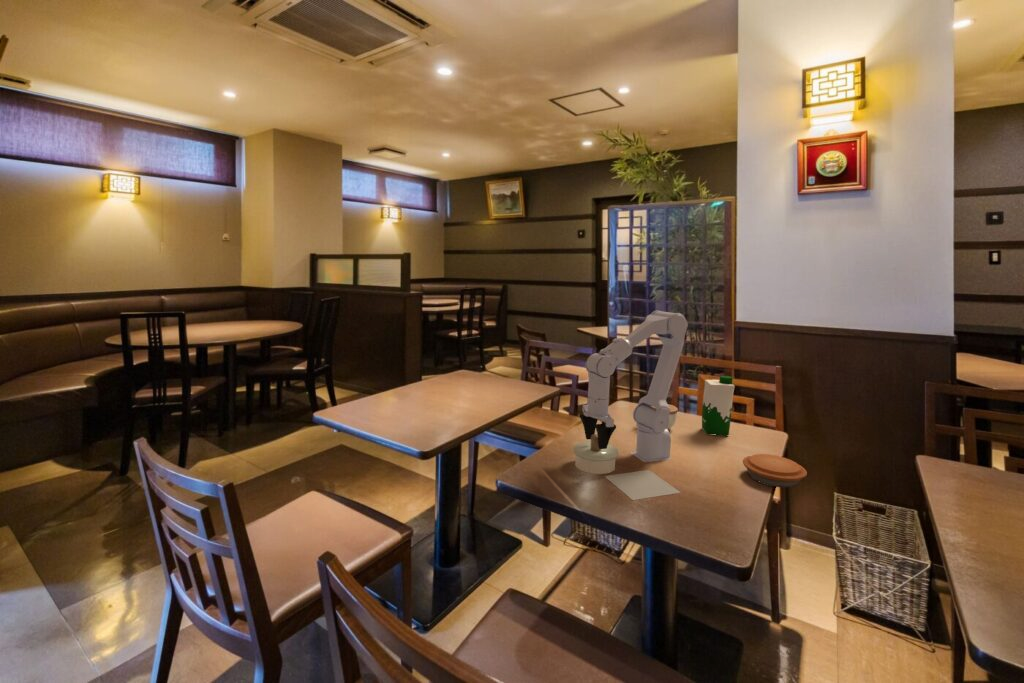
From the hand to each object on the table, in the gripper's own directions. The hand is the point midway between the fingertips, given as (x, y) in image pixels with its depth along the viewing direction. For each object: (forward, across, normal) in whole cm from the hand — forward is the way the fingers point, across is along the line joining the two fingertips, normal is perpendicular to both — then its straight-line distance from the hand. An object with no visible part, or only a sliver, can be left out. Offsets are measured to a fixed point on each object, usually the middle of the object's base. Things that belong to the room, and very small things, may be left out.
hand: (596, 443), depth 136 cm
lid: (+3, 0, 0) cm, 3 cm away
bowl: (+7, 0, 0) cm, 7 cm away
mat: (+7, +14, +6) cm, 17 cm away
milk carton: (+7, -15, +55) cm, 57 cm away
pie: (+8, +20, +44) cm, 49 cm away
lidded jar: (+7, -24, +39) cm, 46 cm away
